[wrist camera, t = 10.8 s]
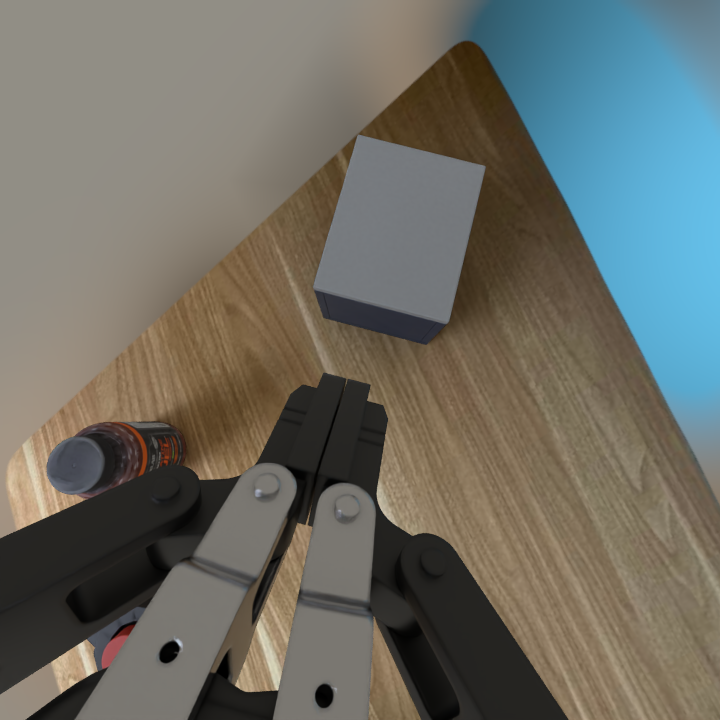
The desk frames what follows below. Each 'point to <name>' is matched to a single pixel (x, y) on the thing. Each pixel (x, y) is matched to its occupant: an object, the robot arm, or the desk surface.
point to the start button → (115, 646)
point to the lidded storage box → (377, 318)
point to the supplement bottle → (113, 455)
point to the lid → (401, 229)
